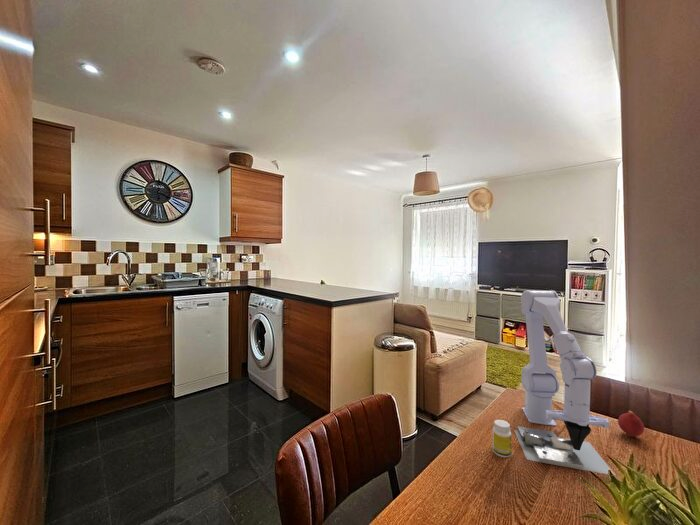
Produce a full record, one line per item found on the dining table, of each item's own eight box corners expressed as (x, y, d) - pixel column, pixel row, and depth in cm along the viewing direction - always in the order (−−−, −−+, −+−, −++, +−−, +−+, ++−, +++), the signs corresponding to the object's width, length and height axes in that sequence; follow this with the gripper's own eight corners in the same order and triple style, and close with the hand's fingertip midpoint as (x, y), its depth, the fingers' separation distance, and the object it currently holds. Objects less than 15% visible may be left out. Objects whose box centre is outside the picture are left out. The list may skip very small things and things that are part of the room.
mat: (514, 430, 93) (514, 430, 93) (588, 442, 88) (588, 442, 88) (527, 460, 80) (527, 459, 80) (616, 476, 74) (616, 475, 74)
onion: (632, 431, 93) (633, 406, 93) (649, 442, 88) (650, 416, 87) (613, 430, 94) (613, 405, 94) (628, 441, 88) (629, 415, 88)
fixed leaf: (515, 429, 94) (515, 419, 94) (553, 435, 91) (553, 425, 90) (523, 447, 85) (523, 436, 85) (565, 454, 82) (566, 443, 82)
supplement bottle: (513, 459, 80) (514, 429, 80) (495, 456, 81) (495, 427, 81) (507, 448, 85) (508, 419, 85) (490, 445, 86) (490, 417, 86)
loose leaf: (529, 441, 87) (529, 431, 87) (568, 448, 84) (569, 437, 84) (539, 462, 79) (539, 450, 79) (583, 470, 76) (583, 458, 76)
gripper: (552, 403, 81) (551, 451, 81) (616, 411, 76) (615, 462, 77) (543, 391, 87) (542, 436, 88) (601, 398, 83) (600, 445, 83)
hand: (575, 447), depth 83 cm, fingers closed
